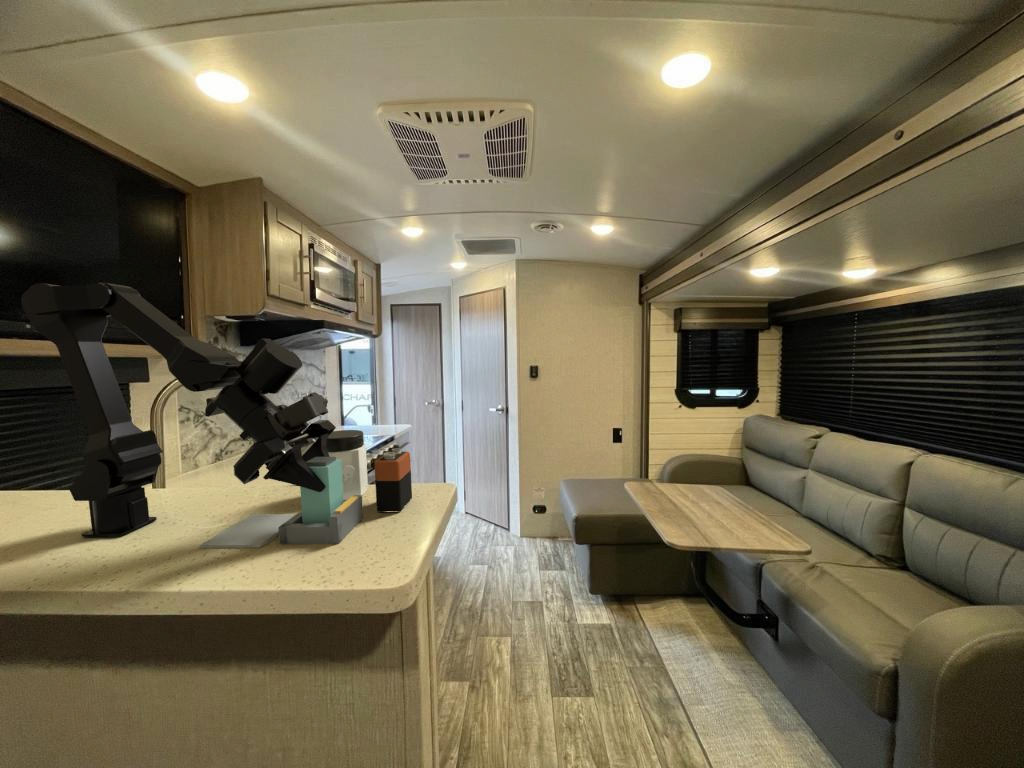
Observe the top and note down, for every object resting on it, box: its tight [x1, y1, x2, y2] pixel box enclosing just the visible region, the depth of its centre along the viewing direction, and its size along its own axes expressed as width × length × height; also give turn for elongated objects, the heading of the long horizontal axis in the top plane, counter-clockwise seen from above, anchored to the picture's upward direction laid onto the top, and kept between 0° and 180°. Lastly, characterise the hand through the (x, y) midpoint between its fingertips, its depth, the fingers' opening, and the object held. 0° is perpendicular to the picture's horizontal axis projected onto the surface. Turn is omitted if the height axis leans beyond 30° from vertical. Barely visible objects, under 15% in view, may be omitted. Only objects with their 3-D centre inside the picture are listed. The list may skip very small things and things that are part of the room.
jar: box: [326, 429, 369, 502], centre depth 79 cm, size 9×8×12 cm
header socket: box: [278, 495, 364, 545], centre depth 63 cm, size 9×9×4 cm
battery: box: [373, 447, 413, 512], centre depth 73 cm, size 4×7×10 cm, turn 176°
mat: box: [199, 513, 297, 549], centre depth 64 cm, size 9×11×1 cm
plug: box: [299, 457, 345, 524], centre depth 63 cm, size 4×4×11 cm
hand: (330, 484), depth 63 cm, fingers closed on plug, 4 cm apart
